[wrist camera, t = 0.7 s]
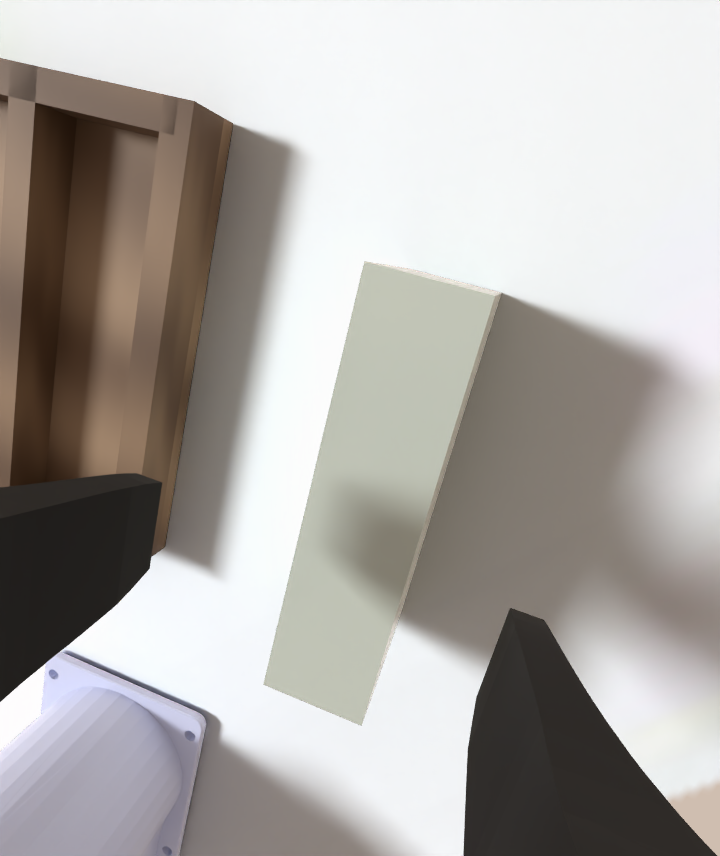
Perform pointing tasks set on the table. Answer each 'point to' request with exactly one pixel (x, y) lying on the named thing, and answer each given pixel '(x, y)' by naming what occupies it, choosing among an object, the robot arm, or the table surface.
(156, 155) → the strip rack
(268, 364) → the table surface
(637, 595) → the table surface
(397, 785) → the table surface
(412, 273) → the clay strip
